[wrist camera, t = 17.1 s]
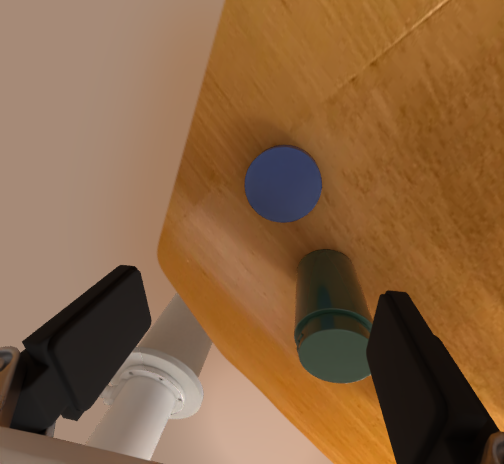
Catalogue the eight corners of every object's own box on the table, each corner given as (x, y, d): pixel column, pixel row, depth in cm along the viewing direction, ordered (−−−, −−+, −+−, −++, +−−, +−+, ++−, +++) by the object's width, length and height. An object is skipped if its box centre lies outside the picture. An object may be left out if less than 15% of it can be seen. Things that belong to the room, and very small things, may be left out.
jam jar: (294, 293, 29) (290, 378, 19) (298, 246, 26) (296, 319, 17) (350, 299, 28) (375, 393, 18) (359, 251, 25) (394, 332, 15)
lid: (325, 145, 21) (327, 147, 20) (317, 218, 24) (318, 225, 23) (247, 144, 23) (243, 146, 21) (248, 214, 25) (245, 220, 24)
